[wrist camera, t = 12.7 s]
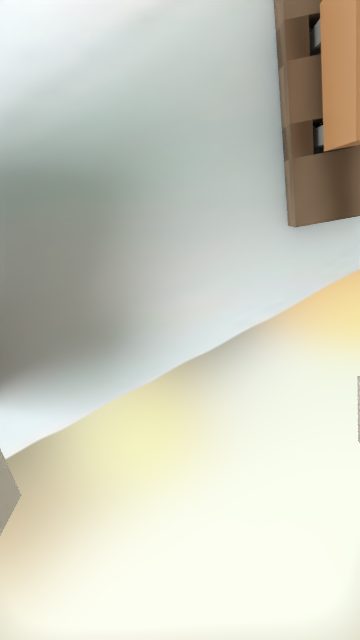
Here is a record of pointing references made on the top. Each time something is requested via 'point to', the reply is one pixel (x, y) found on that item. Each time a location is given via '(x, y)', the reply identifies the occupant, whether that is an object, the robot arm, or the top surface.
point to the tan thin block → (338, 73)
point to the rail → (309, 126)
